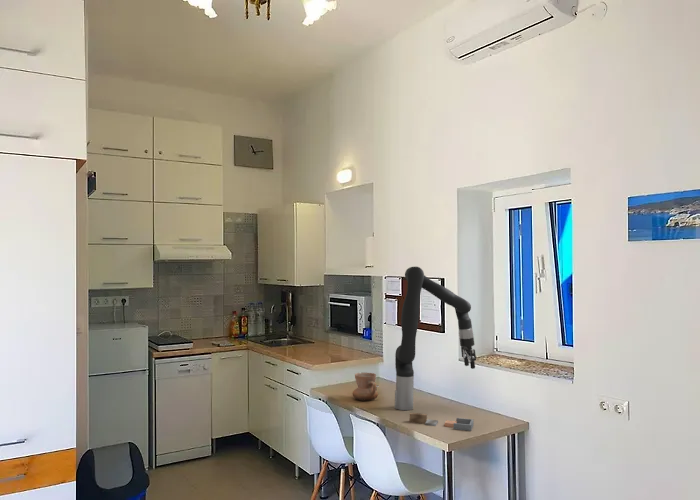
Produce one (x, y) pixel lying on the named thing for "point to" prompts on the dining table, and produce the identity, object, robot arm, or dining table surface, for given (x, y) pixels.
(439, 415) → the dining table surface
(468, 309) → the robot arm
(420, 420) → the brown and grey scraper
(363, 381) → the ceramic jug
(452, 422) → the tile
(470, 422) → the bay
